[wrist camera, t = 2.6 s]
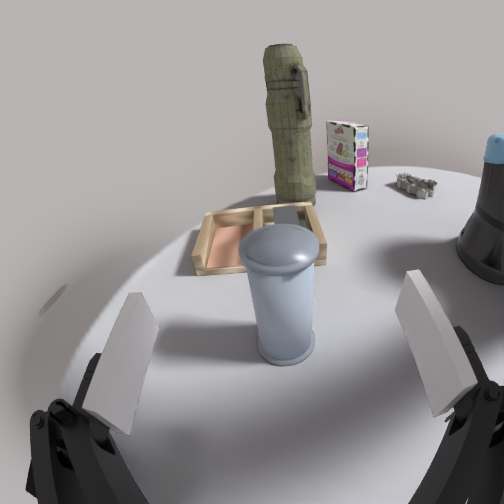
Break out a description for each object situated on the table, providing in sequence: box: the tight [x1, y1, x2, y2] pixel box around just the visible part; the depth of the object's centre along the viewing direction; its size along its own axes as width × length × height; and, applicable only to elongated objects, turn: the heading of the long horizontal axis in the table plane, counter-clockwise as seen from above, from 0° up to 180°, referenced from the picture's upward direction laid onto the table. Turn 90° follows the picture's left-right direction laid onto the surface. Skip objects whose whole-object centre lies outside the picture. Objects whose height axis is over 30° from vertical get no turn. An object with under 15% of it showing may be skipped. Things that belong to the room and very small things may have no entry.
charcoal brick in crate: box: [273, 205, 300, 226], centre depth 45 cm, size 4×9×4 cm, turn 179°
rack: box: [191, 202, 327, 276], centre depth 47 cm, size 20×14×4 cm
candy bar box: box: [326, 120, 368, 191], centre depth 62 cm, size 11×5×16 cm, turn 22°
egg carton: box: [395, 173, 437, 199], centre depth 59 cm, size 11×8×4 cm
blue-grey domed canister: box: [239, 224, 319, 366], centre depth 27 cm, size 7×7×14 cm
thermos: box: [263, 44, 316, 206], centre depth 50 cm, size 9×12×35 cm
